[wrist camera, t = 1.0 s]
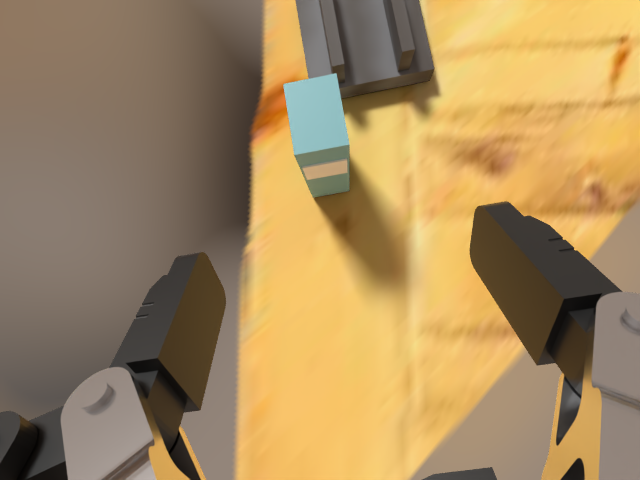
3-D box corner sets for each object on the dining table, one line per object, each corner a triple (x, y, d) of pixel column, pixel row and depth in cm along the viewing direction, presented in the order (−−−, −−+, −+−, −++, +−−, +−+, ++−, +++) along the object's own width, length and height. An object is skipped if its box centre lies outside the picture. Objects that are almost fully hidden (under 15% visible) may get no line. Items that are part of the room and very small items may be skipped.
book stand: (406, -22, 38) (415, -68, 33) (429, 80, 36) (442, 48, 31) (296, 2, 38) (288, -39, 33) (313, 103, 37) (307, 76, 32)
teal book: (340, 142, 36) (336, 73, 24) (349, 192, 35) (349, 146, 23) (305, 149, 36) (283, 84, 24) (313, 198, 35) (294, 156, 23)
